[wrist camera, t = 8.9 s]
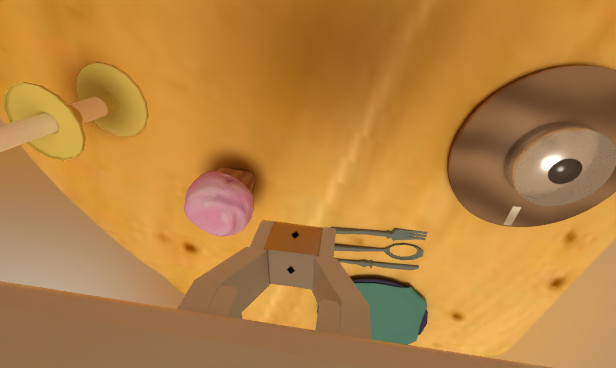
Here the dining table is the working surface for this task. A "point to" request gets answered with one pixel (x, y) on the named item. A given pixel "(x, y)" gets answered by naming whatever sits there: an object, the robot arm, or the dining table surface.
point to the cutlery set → (390, 291)
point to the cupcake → (221, 201)
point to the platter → (517, 122)
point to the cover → (559, 163)
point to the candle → (73, 112)
